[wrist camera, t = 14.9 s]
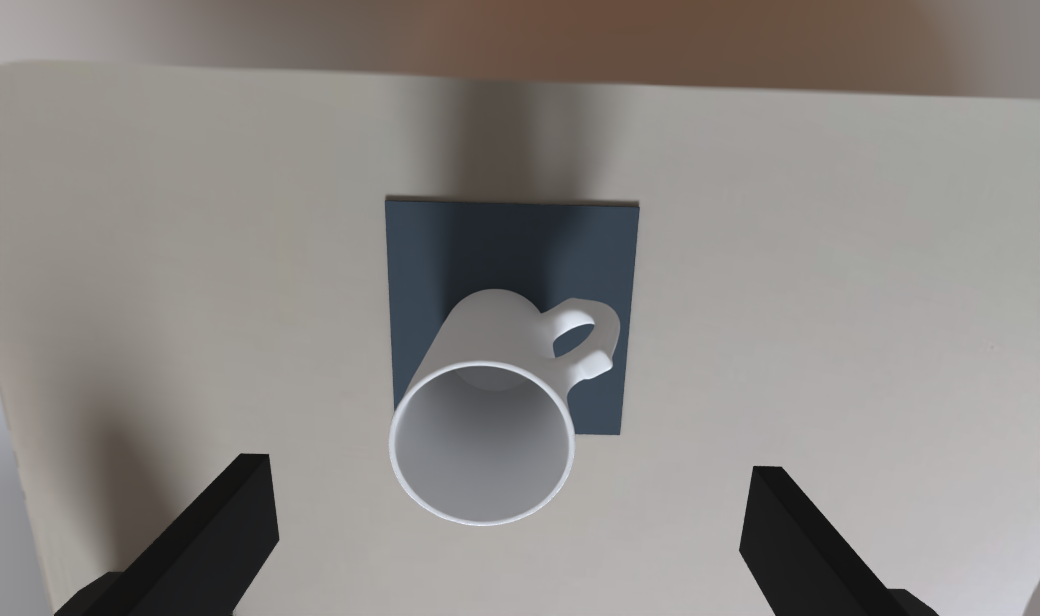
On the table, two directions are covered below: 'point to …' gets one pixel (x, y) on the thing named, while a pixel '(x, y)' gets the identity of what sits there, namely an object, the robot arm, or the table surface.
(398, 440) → the mug
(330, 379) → the table surface
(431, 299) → the mat
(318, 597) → the table surface
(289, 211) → the table surface
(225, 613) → the robot arm
